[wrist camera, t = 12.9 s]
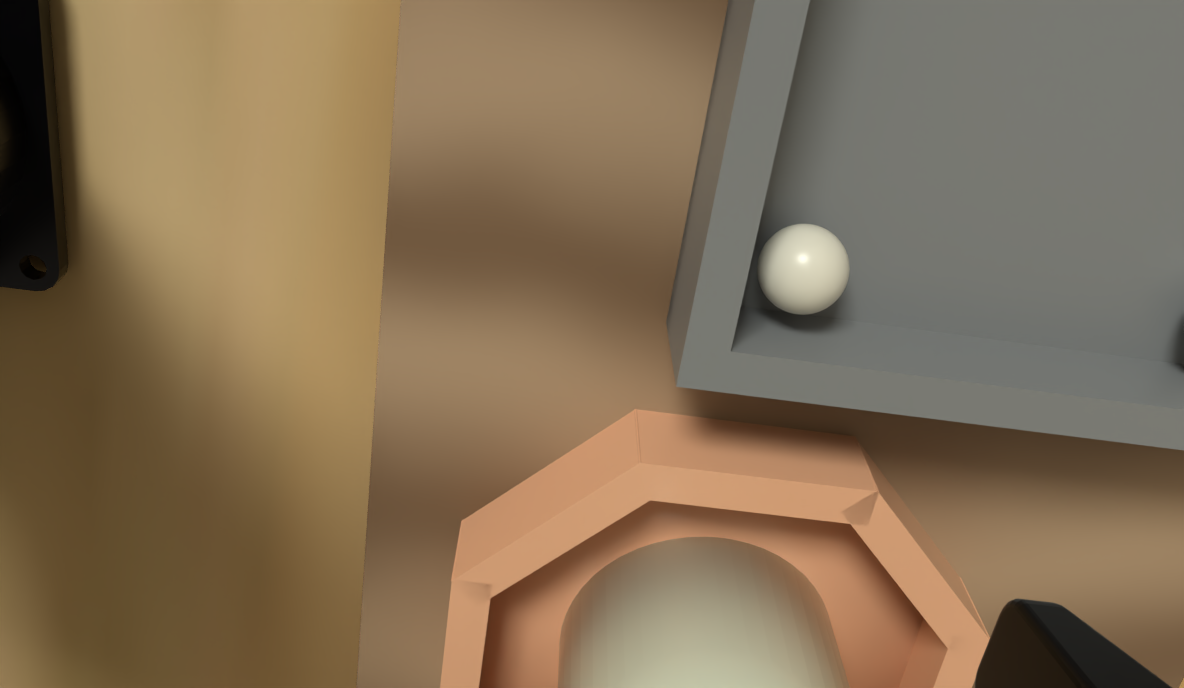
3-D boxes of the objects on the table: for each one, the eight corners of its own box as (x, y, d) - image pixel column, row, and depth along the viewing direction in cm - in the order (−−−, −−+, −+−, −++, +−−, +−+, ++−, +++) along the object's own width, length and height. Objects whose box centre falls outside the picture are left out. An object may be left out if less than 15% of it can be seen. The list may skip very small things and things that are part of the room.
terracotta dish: (476, 388, 22) (466, 440, 20) (1006, 454, 23) (1043, 510, 21) (432, 779, 27) (421, 850, 25) (870, 823, 27) (890, 894, 26)
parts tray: (808, -414, 16) (847, -452, 14) (1571, -278, 17) (1731, -292, 14) (666, 322, 21) (676, 386, 19) (1250, 397, 22) (1330, 468, 20)
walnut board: (454, -682, 15) (446, -712, 14) (1698, -444, 17) (1761, -458, 16) (355, 781, 28) (348, 814, 27) (1063, 851, 29) (1078, 884, 28)
